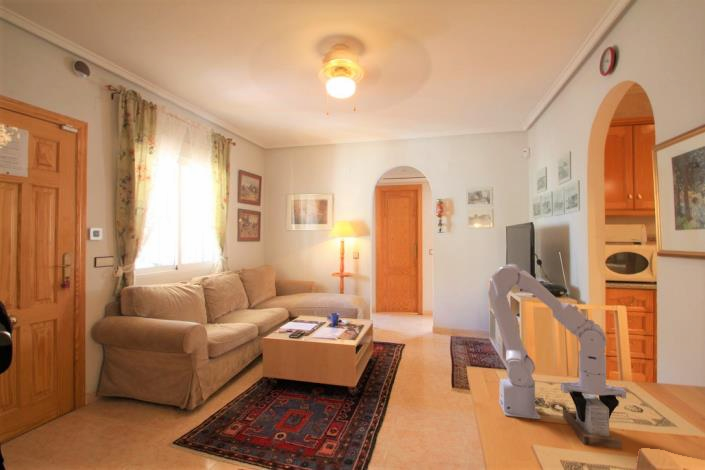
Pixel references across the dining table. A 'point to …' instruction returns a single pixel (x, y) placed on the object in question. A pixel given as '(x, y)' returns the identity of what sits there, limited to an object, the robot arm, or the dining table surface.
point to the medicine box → (595, 417)
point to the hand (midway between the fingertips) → (592, 421)
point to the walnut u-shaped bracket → (587, 438)
